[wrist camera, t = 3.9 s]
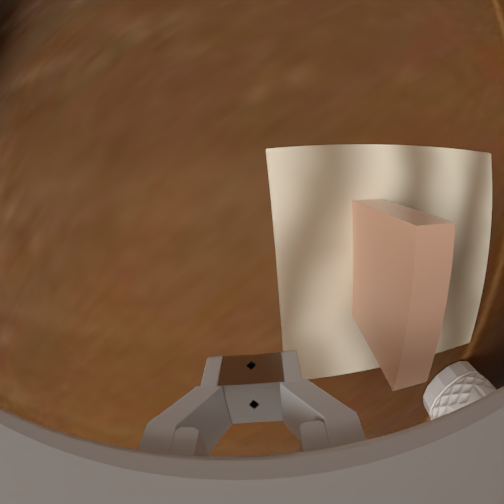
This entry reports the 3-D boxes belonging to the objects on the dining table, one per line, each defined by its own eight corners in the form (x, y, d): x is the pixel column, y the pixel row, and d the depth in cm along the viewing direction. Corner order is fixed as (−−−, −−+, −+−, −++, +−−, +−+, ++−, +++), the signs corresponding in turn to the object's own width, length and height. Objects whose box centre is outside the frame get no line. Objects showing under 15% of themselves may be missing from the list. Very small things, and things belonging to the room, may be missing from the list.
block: (384, 198, 17) (460, 222, 9) (380, 311, 19) (431, 380, 11) (351, 200, 17) (416, 225, 9) (351, 315, 19) (392, 391, 11)
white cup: (469, 342, 21) (522, 400, 12) (477, 378, 23) (517, 431, 13) (409, 389, 23) (448, 462, 13) (426, 418, 24) (457, 479, 15)
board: (481, 153, 16) (490, 153, 15) (463, 336, 21) (469, 342, 20) (265, 150, 17) (266, 148, 16) (284, 372, 22) (285, 381, 21)
